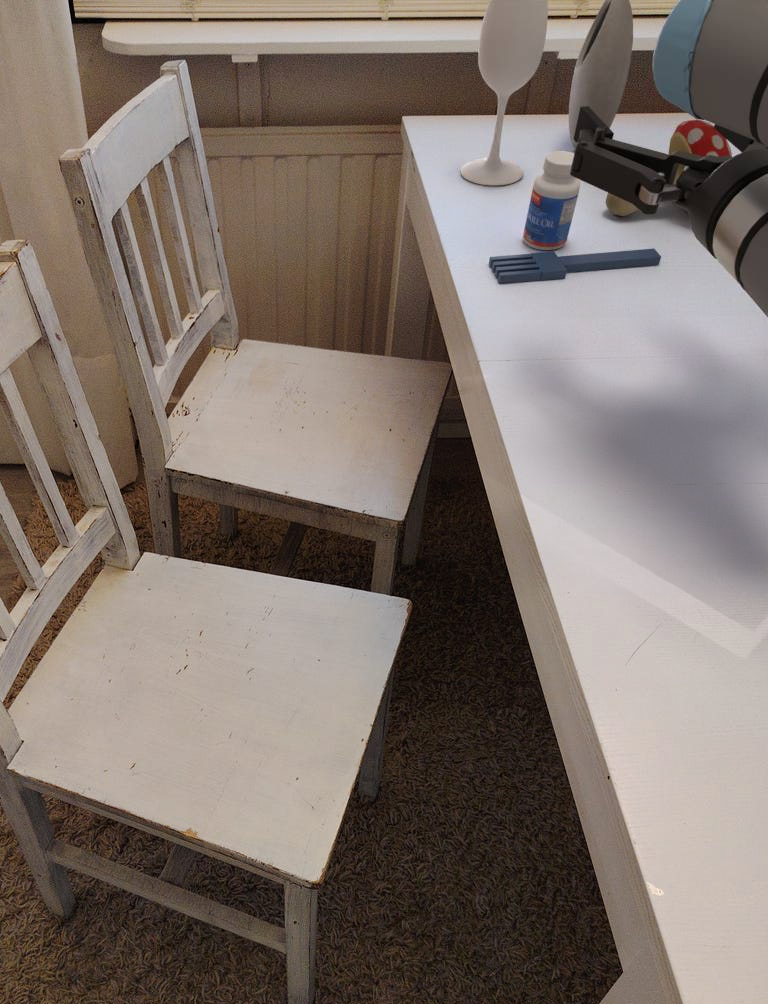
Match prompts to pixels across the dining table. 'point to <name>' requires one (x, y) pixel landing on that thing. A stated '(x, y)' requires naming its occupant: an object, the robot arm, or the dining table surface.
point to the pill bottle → (552, 203)
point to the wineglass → (507, 72)
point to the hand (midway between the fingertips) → (651, 117)
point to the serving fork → (565, 264)
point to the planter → (603, 64)
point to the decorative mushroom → (688, 139)
